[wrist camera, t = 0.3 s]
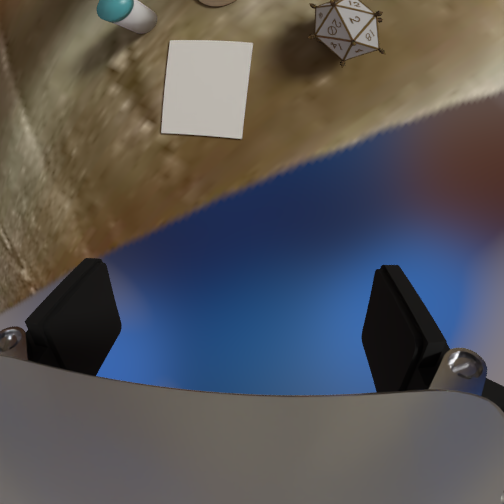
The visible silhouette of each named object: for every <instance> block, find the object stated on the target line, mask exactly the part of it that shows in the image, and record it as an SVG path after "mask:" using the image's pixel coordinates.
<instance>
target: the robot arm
mask: <svg viewBox="0 0 504 504" xmlns="http://www.w3.org/2000/svg"><path fill="white" fill-rule="evenodd" d="M25 323H26V325H27V327H28V331H27V332H26V333H25V331H24V330H23V329H22V328H20V327H9V328H6V329H3V330H2V331H0V504H504V387H503V386H502V385H499V384H497V383H495V382H493V381H491V380H489V379H487V378H486V376H487V366H486V363H485V361H484V360H483V359H482V357H480V356H479V355H478V354H477V353H475V352H473V351H471V350H469V349H466V348H454V349H451V350H450V348H449V346H448V345H447V343H446V340H445V338H444V336H443V335H442V333H441V331H440V330H439V328H438V326H437V324H436V323H435V321H434V319H433V318H432V316H431V315H430V313H429V311H428V310H427V308H426V306H425V305H424V303H423V302H422V300H421V299H420V297H419V295H418V294H417V293H416V291H415V289H414V288H413V286H412V285H411V283H410V282H409V280H408V279H407V277H406V275H405V274H404V272H403V271H402V269H401V268H400V267H399V266H398V265H382V266H381V268H380V269H377V270H376V271H375V275H374V281H373V285H372V291H371V295H370V300H369V304H368V309H367V314H366V318H365V323H364V326H363V331H362V343H363V347H364V350H365V353H366V356H367V360H368V363H369V367H370V370H371V373H372V377H373V380H374V384H375V388H376V391H377V392H376V393H362V394H343V395H308V396H307V395H302V396H300V395H295V396H292V395H288V396H287V395H252V394H234V393H219V392H206V391H195V390H185V389H176V388H168V387H160V386H153V385H146V384H139V383H132V382H126V381H120V380H114V379H108V378H103V377H98V376H96V375H97V373H98V371H99V369H100V367H101V365H102V364H103V362H104V360H105V358H106V356H107V355H108V353H109V351H110V349H111V348H112V346H113V344H114V342H115V341H116V339H117V337H118V335H119V334H120V331H121V321H120V317H119V313H118V310H117V306H116V302H115V299H114V295H113V291H112V287H111V282H110V278H109V274H108V270H107V266H106V264H105V263H103V262H102V260H101V259H95V258H86V259H84V260H83V261H82V262H81V263H80V264H79V265H78V266H77V267H76V268H75V269H74V270H73V271H72V272H71V273H70V274H69V275H68V276H67V277H66V278H65V279H64V280H63V281H62V282H61V283H60V284H59V285H58V286H57V287H56V288H55V289H54V290H53V291H52V292H51V293H50V295H49V296H48V297H47V298H46V299H45V300H44V301H43V302H42V303H41V304H40V305H39V306H38V307H37V308H36V310H35V311H34V312H33V313H32V314H31V315H30V316H29V317H28V318H27V320H26V321H25Z"/></svg>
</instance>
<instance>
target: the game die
mask: <svg viewBox="0 0 504 504" xmlns="http://www.w3.org/2000/svg"><path fill="white" fill-rule="evenodd" d="M310 6H311V7H312V8H315V33H314V34H312V35H309V37H308V38H310V39H313V38H315V37H316V38H317V39H318V42H322V43H323V44H324V45H325V46H326V47H328V48H329V49H330V50H331V51H332V52H333V53H334V54H335V55H337V56H338V57H339V58H340V59H341V60H342V61H341V62H340V63H341V64H340V65H341V67H342V68H343V67H344V65H345V60H348V59H351V58H354V57H357V56H361V55H364V54H367V53H370V52H373V51H377V50H379V51H380V52H381V54H385V51H384V50H383V49H381V48H380V43H379V28H378V22H382V20H383V19H381V18H377V16H381V15H382V13H383V12H380V11H378V12H376V13H374V12H373V11H372V10H371V9H370V8H368V7H367V6H366V5H365V4H363V3H362V2H361V1H360V0H330V2H327V3H324V4H322V5H319V6H315V5H314V4H310Z"/></svg>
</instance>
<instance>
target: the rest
mask: <svg viewBox="0 0 504 504" xmlns="http://www.w3.org/2000/svg"><path fill="white" fill-rule="evenodd" d="M199 1H200V2H202V3H203V4H205V5H208V6H215V7H217V6H225V5H228V4H231V3H233V2H234V1H236V0H199Z"/></svg>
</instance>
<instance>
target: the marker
mask: <svg viewBox="0 0 504 504" xmlns="http://www.w3.org/2000/svg"><path fill="white" fill-rule="evenodd" d="M97 14H98V16H99V17H100V18H101V19H103V20H106V21H108V22H112V23H114V24H117V25H119V26H122V27H124V28H126V29H129V30H131V31H133V32H135V33H138V34H144V33H147V32H149V31H151V30H152V29H153V28H154V27H155V25H156V23H157V15H156V13H155V12H154V11H153V10H151V9H150V8H148V7H147V6H145V5H144V4H142V3H141V2H139V1H138V0H100V1H99V3H98V5H97Z"/></svg>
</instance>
